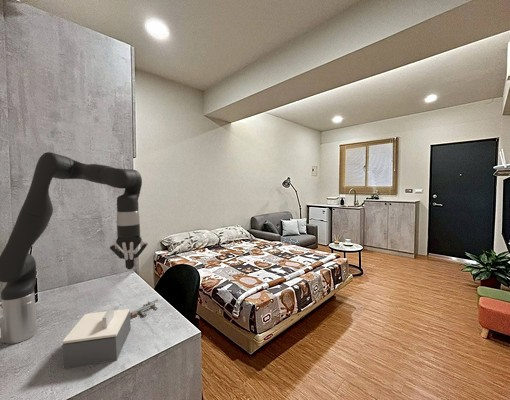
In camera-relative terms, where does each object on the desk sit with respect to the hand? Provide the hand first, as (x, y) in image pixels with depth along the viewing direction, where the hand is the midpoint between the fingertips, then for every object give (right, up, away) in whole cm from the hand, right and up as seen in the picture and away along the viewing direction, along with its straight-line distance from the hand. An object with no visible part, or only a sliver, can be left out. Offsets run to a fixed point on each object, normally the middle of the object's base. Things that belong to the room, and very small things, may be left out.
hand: (130, 268), depth 90 cm
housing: (-11, -29, 0) cm, 31 cm away
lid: (-11, -21, -1) cm, 23 cm away
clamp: (-5, -28, +25) cm, 38 cm away
